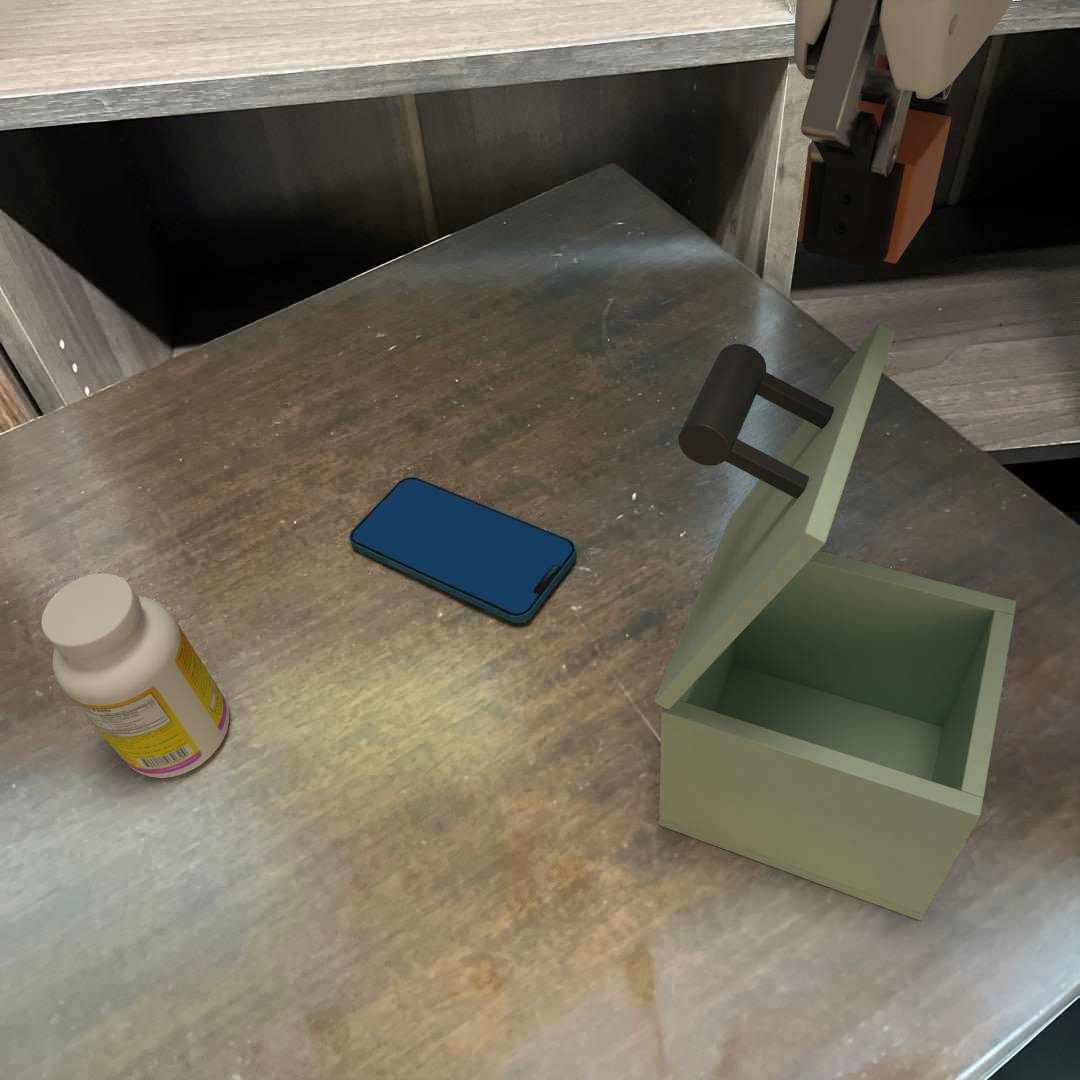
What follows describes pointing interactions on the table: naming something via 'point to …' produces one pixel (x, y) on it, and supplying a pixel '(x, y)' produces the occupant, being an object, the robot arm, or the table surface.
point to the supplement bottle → (134, 675)
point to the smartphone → (465, 548)
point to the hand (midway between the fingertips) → (866, 220)
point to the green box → (844, 731)
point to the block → (906, 173)
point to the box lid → (768, 491)
